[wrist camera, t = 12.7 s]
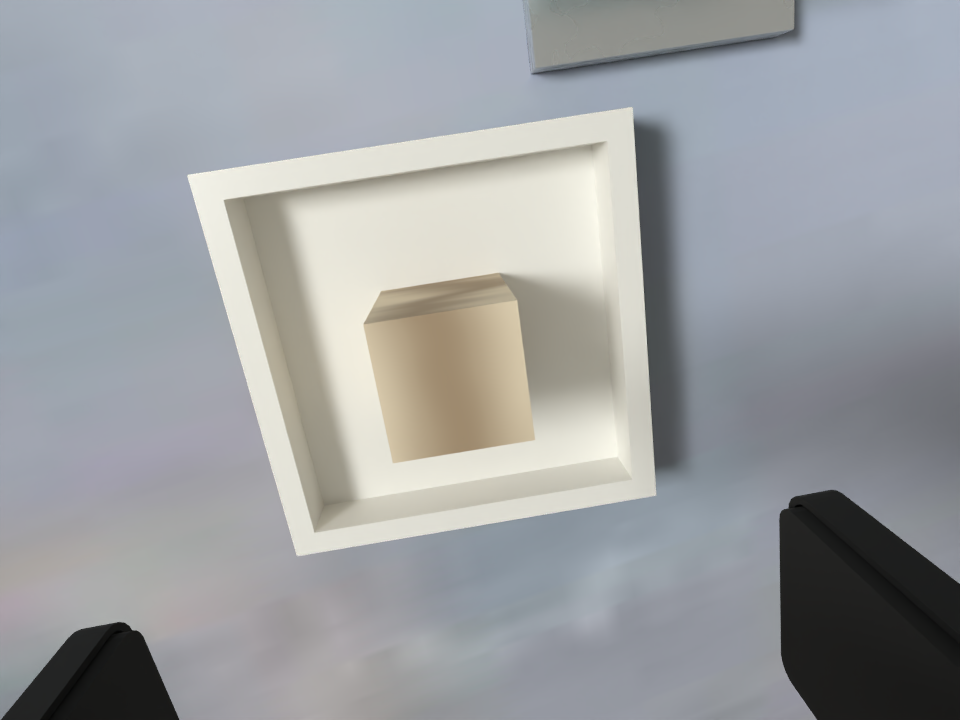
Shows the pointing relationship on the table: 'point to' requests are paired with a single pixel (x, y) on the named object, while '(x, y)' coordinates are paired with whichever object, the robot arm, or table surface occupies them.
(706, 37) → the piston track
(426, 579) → the table surface
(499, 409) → the wooden block
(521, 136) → the tray
